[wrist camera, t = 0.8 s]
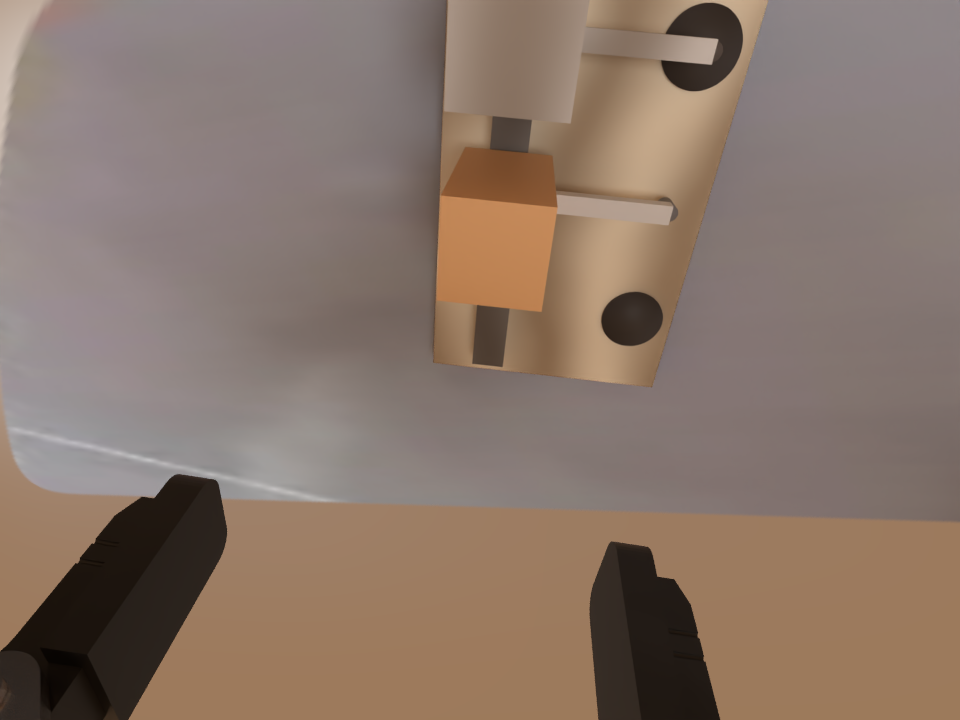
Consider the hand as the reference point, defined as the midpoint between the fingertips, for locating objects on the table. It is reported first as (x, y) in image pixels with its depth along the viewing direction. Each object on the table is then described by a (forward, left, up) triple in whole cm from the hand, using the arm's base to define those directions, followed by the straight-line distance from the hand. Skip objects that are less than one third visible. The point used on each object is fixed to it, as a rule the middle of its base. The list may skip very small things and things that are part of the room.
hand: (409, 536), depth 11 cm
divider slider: (-4, -2, -17) cm, 18 cm away
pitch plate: (-4, -2, -19) cm, 20 cm away
